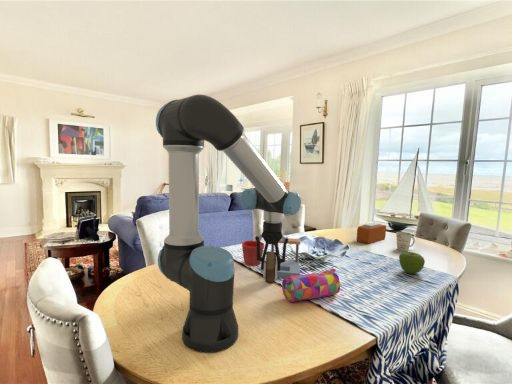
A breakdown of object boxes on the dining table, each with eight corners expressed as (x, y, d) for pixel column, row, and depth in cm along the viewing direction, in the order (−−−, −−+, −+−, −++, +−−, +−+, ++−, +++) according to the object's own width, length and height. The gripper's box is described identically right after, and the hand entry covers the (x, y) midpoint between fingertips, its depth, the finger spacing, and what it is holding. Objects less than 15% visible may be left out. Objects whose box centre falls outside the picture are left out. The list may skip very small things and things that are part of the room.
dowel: (274, 283, 113) (275, 254, 112) (264, 283, 113) (265, 253, 112) (275, 280, 117) (276, 251, 115) (265, 279, 117) (266, 251, 116)
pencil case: (324, 286, 112) (326, 264, 111) (342, 296, 104) (343, 272, 103) (279, 296, 102) (280, 272, 101) (294, 308, 94) (295, 282, 93)
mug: (391, 248, 172) (393, 232, 172) (408, 247, 176) (409, 231, 175) (402, 252, 165) (404, 235, 164) (419, 250, 168) (420, 234, 167)
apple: (417, 279, 123) (419, 257, 122) (393, 271, 131) (395, 250, 130) (427, 273, 130) (429, 252, 129) (403, 267, 138) (405, 247, 137)
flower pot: (267, 265, 133) (268, 245, 133) (245, 267, 129) (246, 247, 128) (258, 258, 143) (259, 239, 142) (238, 260, 139) (238, 241, 138)
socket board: (299, 279, 118) (301, 248, 117) (266, 276, 120) (267, 246, 119) (298, 266, 134) (300, 239, 133) (269, 263, 136) (270, 237, 135)
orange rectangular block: (373, 236, 201) (374, 221, 200) (385, 239, 195) (386, 223, 194) (356, 241, 185) (357, 224, 184) (368, 244, 179) (369, 227, 178)
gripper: (293, 220, 115) (291, 276, 117) (253, 218, 117) (251, 272, 119) (294, 224, 108) (291, 283, 110) (250, 221, 110) (248, 279, 112)
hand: (270, 277), depth 115 cm, fingers closed on dowel, 4 cm apart
